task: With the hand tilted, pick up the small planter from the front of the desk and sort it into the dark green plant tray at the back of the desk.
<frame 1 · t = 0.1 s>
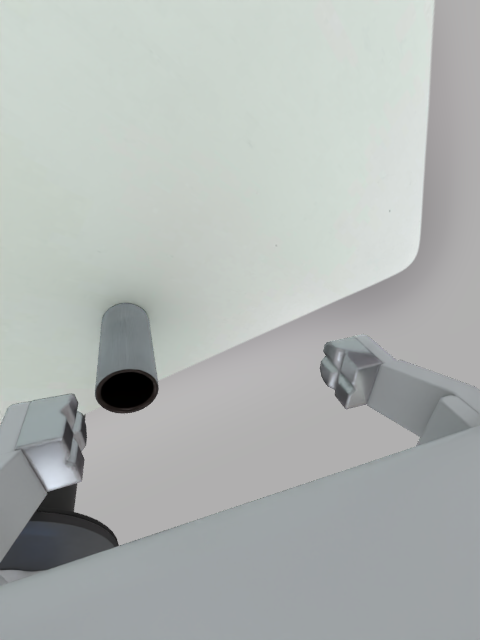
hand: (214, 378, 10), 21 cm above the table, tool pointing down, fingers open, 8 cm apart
planter: (126, 321, 32), on the table
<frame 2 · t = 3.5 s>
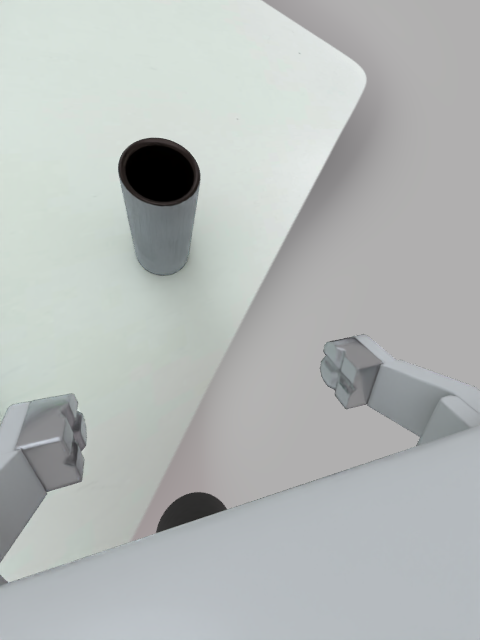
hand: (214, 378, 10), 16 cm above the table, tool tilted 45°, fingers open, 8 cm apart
planter: (162, 252, 27), on the table
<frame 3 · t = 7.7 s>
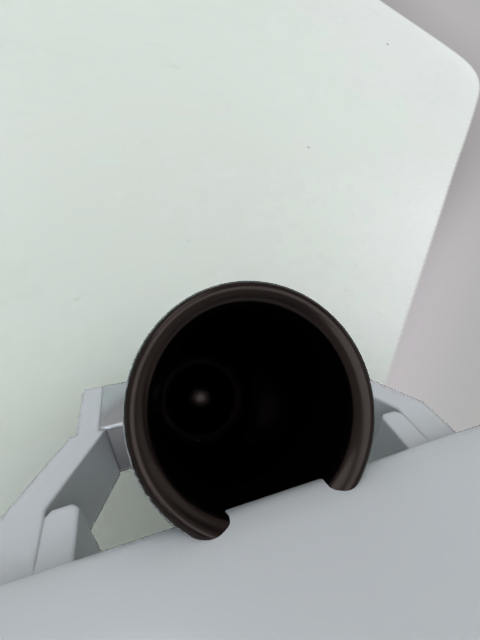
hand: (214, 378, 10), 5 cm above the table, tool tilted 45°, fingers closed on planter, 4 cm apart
planter: (198, 398, 15), on the table, touching gripper
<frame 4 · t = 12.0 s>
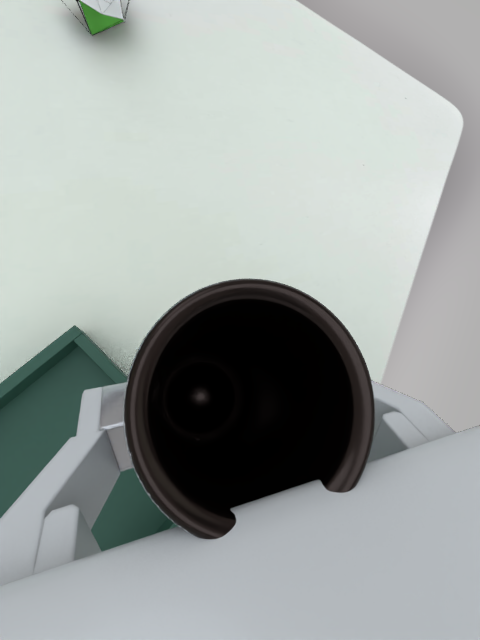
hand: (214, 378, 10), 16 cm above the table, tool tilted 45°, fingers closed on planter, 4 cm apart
planter: (199, 397, 15), point 11 cm above the table, touching gripper
plant tray: (67, 482, 22), on the table
geometric puzzle: (100, 22, 32), on the table
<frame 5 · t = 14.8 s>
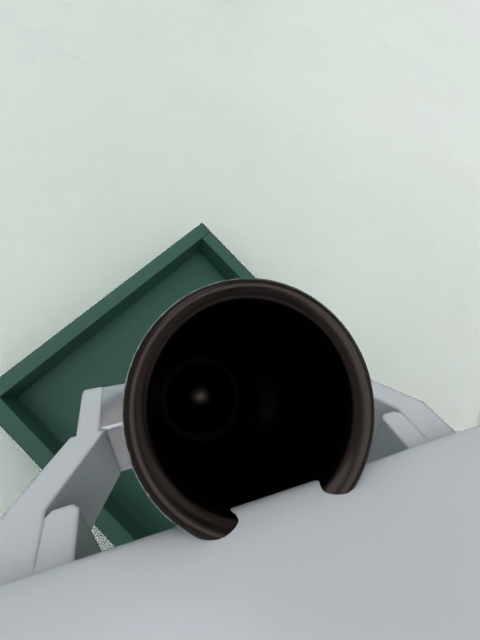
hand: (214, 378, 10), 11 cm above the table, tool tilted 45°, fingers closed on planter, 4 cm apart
planter: (198, 397, 15), point 5 cm above the table, touching gripper
plant tray: (194, 395, 20), on the table
when the fingers open (6 cm above the table, at t = 16.6 s): planter stays where it is, resting on plant tray.
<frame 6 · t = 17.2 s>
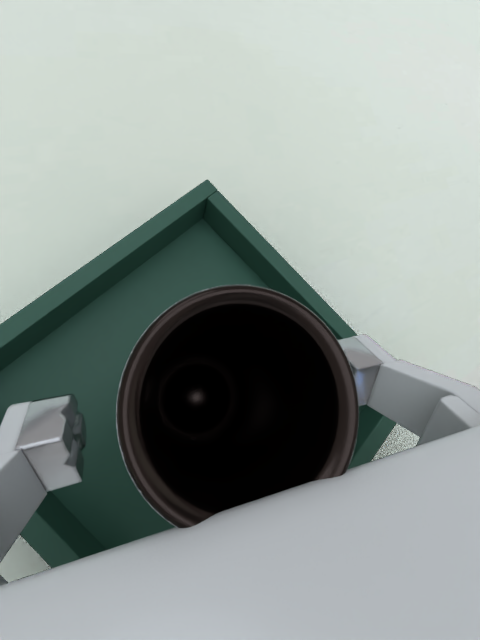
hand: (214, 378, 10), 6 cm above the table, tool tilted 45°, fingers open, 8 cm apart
planter: (195, 397, 15), resting on plant tray
plant tray: (197, 396, 16), on the table
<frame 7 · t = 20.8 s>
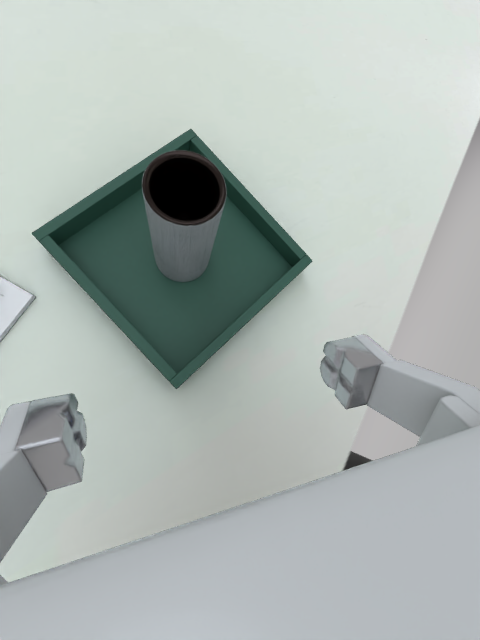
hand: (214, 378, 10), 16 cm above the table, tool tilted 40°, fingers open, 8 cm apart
planter: (182, 258, 27), resting on plant tray
plant tray: (183, 259, 27), on the table
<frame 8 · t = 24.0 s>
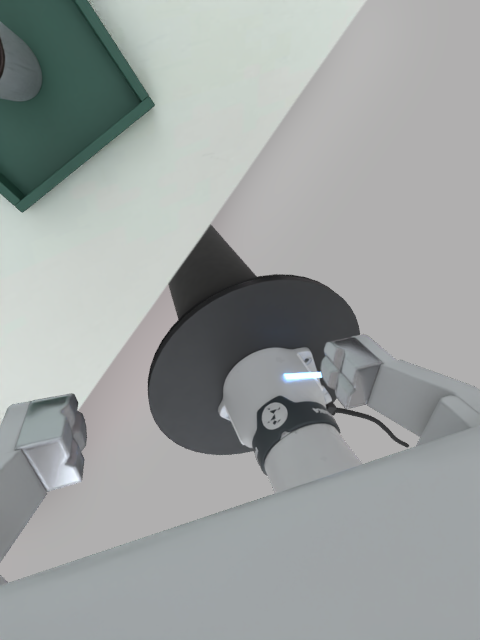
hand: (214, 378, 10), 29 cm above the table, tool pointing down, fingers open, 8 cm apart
planter: (10, 67, 25), resting on plant tray
plant tray: (13, 68, 25), on the table
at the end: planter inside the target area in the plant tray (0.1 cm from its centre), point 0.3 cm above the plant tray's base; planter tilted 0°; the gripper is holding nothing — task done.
